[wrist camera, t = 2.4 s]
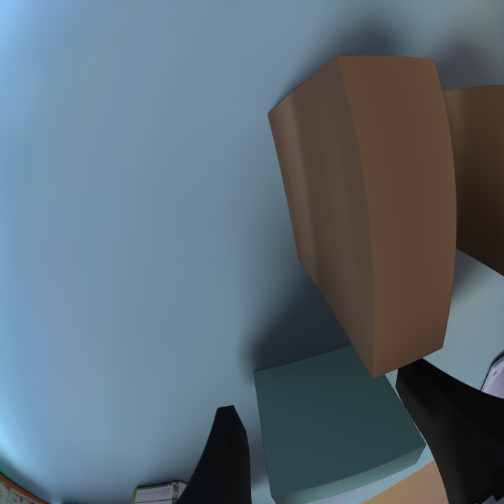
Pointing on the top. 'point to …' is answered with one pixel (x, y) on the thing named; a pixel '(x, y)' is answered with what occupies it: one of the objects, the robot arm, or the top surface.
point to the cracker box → (15, 494)
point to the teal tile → (331, 427)
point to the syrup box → (158, 493)
